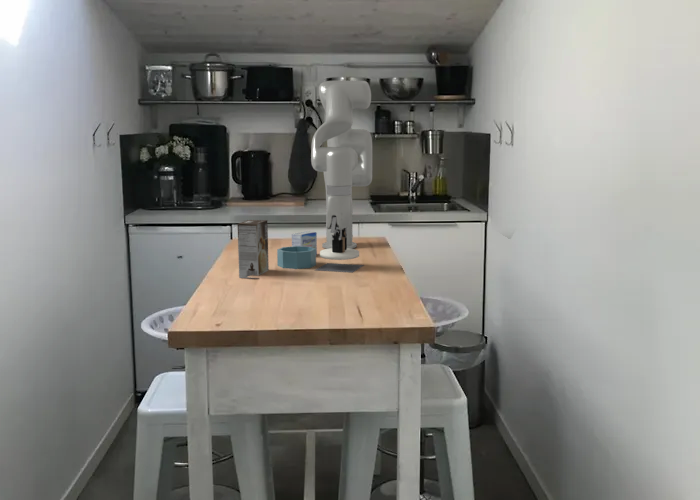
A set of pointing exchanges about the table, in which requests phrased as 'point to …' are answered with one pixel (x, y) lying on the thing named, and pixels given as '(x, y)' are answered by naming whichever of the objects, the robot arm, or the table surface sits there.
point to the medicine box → (305, 239)
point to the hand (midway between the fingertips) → (339, 250)
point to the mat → (339, 267)
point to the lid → (340, 256)
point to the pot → (296, 257)
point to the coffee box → (253, 248)
